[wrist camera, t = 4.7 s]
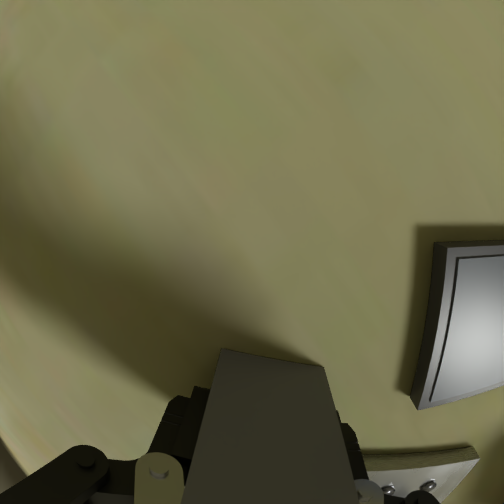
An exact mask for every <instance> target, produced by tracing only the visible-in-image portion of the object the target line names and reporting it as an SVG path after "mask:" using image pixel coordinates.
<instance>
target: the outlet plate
mask: <svg viewBox="0 0 504 504" xmlns="http://www.w3.org/2000/svg"><path fill="white" fill-rule="evenodd" d="M362 457H363V460H364V464H365V467H366V470H367V474H368V477H369V480H370V481H373V482H374V483H376V484H377V485H378V486H380V488H381V489H382V491H383V493H384V494H387V495H391V496H397V497H403V498H405V497H406V496H407V495H408V494H409V493H411V492H412V491H416V490H423V491H427V492H429V493H431V494H432V495H433V496H434V497H435V498H436V499H437V500H438V501H439V502H440V503H441V502H442V501H443V500H444V499H445V498H446V497H447V496H448V495H449V494H450V493H451V492H452V491H453V490H454V489H455V488H456V487H457V485H458V484H459V483H460V482H461V481H462V480H463V479H464V478H465V476H466V475H467V474H468V473H469V472H470V470H471V469H472V468H473V467H474V466H475V464H476V463H477V462H478V461H479V459H480V457H479V455H478V454H477V452H476V451H475V449H474V448H473V446H472V447H466V448H459V449H452V450H443V451H434V452H423V453H410V454H388V455H362Z"/></svg>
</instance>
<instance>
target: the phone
mask: <svg viewBox="0 0 504 504" xmlns="http://www.w3.org/2000/svg"><path fill="white" fill-rule="evenodd" d="M503 385H504V240H486V241H458V242H434V254H433V266H432V277H431V286H430V295H429V303H428V310H427V317H426V323H425V329H424V335H423V341H422V346H421V351H420V356H419V361H418V365H417V370H416V374H415V379H414V383H413V387H412V391H411V395H410V398H411V400H412V402H413V403H414V405H415V407H416V409H417V410H421V409H426V408H430V407H434V406H438V405H442V404H446V403H450V402H453V401H457V400H460V399H464V398H467V397H470V396H474V395H477V394H480V393H483V392H486V391H489V390H492V389H495V388H498V387H500V386H503Z"/></svg>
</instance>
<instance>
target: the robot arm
mask: <svg viewBox="0 0 504 504" xmlns="http://www.w3.org/2000/svg"><path fill="white" fill-rule="evenodd" d="M209 394H210V389H206V388H202V387H198V386H195V387H194V389H193V392H192V395H191V398H187V397H183V396H180V395H177V396H176V397H175V398H174V399H172V400H171V401H170V402H169V403H168V405H167V408H166V410H165V413H164V415H163V417H162V420H161V422H160V424H159V427H158V429H157V431H156V434H155V436H154V438H153V441H152V443H151V446H150V448H149V450H148V452H147V453H146V454H145V455H143V456H141V457H140V458H138V459H136V460H130V461H122V460H112V459H107V457H106V456H105V454H104V453H103V452H102V451H100V450H99V449H97V448H95V447H92V446H88V445H78V446H74V447H72V448H70V449H69V450H67V451H66V452H64V453H63V454H61V455H60V456H58V457H57V458H55V459H54V460H52V461H51V462H49V463H48V464H46V465H45V466H43V467H42V468H40V469H39V470H37V471H36V472H34V473H33V474H31V475H30V476H28V477H26V478H25V479H23V480H22V481H20V482H19V483H17V484H16V485H14V486H12V487H11V488H9V489H8V490H6V491H4V492H3V493H1V494H0V504H181V500H182V497H183V493H184V486H185V485H186V481H187V477H188V474H189V470H190V466H191V462H192V458H193V454H194V451H195V447H196V443H197V439H198V435H199V432H200V428H201V424H202V420H203V416H204V413H205V409H206V405H207V401H208V398H209ZM336 413H337V416H338V420H339V424H340V428H341V431H342V435H343V439H344V443H345V447H346V451H347V455H348V459H349V463H350V467H351V471H352V475H353V479H354V483H355V487H356V491H357V495H358V499H359V504H440V502H439V501H438V500H437V499H436V498H435V497H434V496H433V495H432V494H431V493H429V492H427V491H423V490H416V491H412V492H411V493H409V494H408V495H407V496H406V497H405V498H403V497H397V496H391V495H387V494H384V493H383V491H382V489H381V488H380V486H378V485H377V484H376V483H374V482H373V481H370V480H369V477H368V474H367V470H366V467H365V464H364V460H363V457H362V454H361V452H360V447H359V444H358V440H357V437H356V434H355V432H354V431H353V429H352V428H351V427H350V426H349V425H348V423H341V420H340V417H339V413H338V411H337V410H336Z"/></svg>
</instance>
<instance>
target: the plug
mask: <svg viewBox="0 0 504 504" xmlns="http://www.w3.org/2000/svg"><path fill="white" fill-rule="evenodd" d="M181 504H359V499H358V495H357V491H356V487H355V483H354V479H353V475H352V471H351V467H350V463H349V459H348V455H347V451H346V447H345V443H344V439H343V435H342V431H341V428H340V424H339V420H338V416H337V413H336V409H335V405H334V402H333V398H332V394H331V391H330V387H329V384H328V380H327V377H326V373H325V370H324V367H319V366H313V365H306V364H300V363H294V362H288V361H282V360H277V359H271V358H266V357H261V356H256V355H251V354H246V353H241V352H236V351H232V350H227V349H221V352H220V356H219V360H218V364H217V367H216V371H215V375H214V379H213V382H212V386H211V390H210V394H209V398H208V401H207V405H206V409H205V413H204V416H203V420H202V424H201V428H200V432H199V435H198V439H197V443H196V447H195V451H194V454H193V458H192V462H191V466H190V470H189V474H188V477H187V481H186V485H185V486H184V493H183V497H182V500H181Z"/></svg>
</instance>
